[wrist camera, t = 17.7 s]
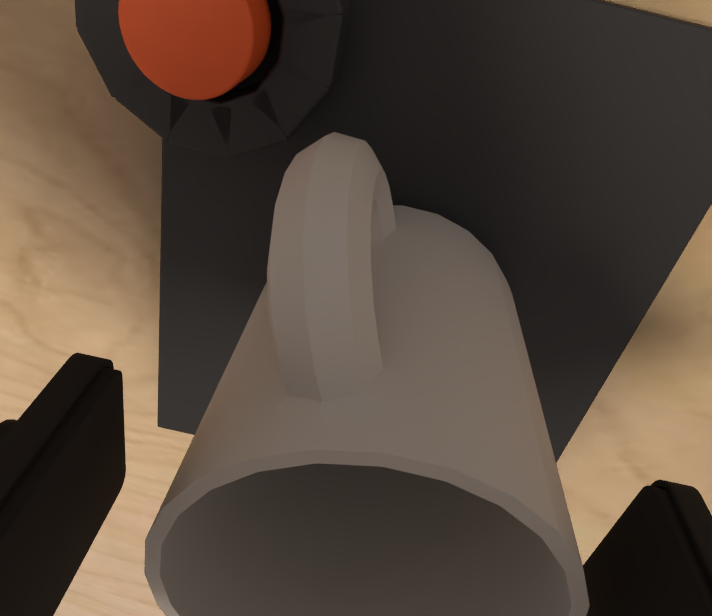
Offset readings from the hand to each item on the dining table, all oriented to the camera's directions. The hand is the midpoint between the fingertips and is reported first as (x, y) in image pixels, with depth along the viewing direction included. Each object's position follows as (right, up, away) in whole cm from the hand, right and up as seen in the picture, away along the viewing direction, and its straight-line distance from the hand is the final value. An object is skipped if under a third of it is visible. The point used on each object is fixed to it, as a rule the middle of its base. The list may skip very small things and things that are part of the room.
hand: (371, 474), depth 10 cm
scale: (+1, +4, +7) cm, 9 cm away
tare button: (-3, +9, +2) cm, 10 cm away
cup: (0, +4, +6) cm, 7 cm away
